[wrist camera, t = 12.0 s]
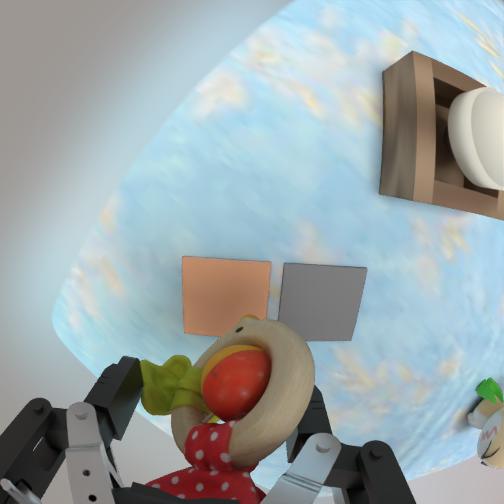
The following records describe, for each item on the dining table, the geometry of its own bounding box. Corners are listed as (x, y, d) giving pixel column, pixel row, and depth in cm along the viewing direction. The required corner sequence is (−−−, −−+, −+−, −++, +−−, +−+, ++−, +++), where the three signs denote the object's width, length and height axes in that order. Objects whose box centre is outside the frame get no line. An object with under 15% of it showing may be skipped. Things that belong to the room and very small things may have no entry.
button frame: (468, 211, 19) (505, 221, 14) (379, 194, 19) (412, 200, 14) (471, 106, 17) (506, 99, 12) (382, 72, 16) (412, 50, 12)
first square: (350, 338, 22) (351, 340, 22) (275, 338, 22) (276, 340, 22) (366, 267, 21) (367, 268, 20) (284, 262, 21) (284, 264, 20)
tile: (263, 337, 22) (263, 339, 22) (185, 331, 22) (184, 333, 22) (270, 261, 21) (271, 263, 20) (183, 256, 20) (182, 257, 20)
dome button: (481, 191, 16) (549, 205, 9) (422, 175, 16) (498, 182, 9) (481, 114, 14) (546, 106, 7) (422, 88, 14) (490, 61, 7)
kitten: (453, 403, 26) (502, 476, 11) (504, 357, 24) (561, 416, 10) (460, 438, 29) (492, 494, 14) (502, 402, 27) (540, 451, 13)
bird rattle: (211, 270, 16) (115, 381, 14) (291, 287, 5) (66, 519, 3) (287, 336, 17) (196, 435, 15) (423, 412, 6) (235, 574, 4)
